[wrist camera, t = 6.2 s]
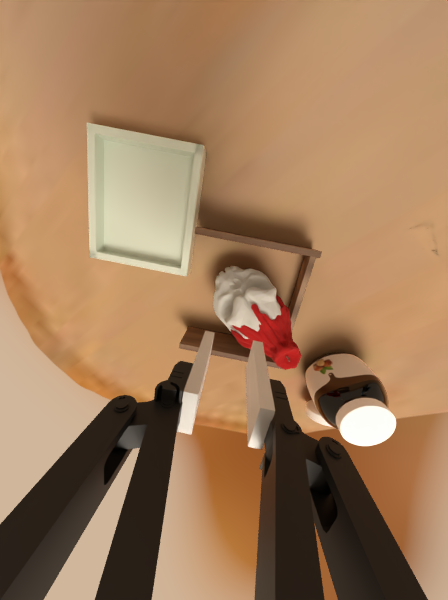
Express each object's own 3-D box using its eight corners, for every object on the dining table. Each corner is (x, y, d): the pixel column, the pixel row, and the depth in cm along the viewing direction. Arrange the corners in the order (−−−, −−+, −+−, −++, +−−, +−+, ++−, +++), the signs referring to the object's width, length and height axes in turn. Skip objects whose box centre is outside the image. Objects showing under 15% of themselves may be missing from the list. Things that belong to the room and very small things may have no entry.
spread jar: (352, 342, 36) (403, 392, 25) (369, 392, 39) (421, 456, 28) (285, 365, 38) (304, 420, 27) (306, 411, 41) (330, 477, 30)
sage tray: (99, 131, 29) (86, 122, 26) (206, 152, 29) (203, 145, 26) (100, 255, 34) (89, 257, 32) (190, 273, 34) (186, 276, 32)
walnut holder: (203, 227, 32) (195, 226, 26) (312, 249, 32) (328, 253, 26) (188, 330, 37) (179, 348, 32) (280, 349, 37) (288, 370, 31)
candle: (246, 249, 30) (324, 318, 21) (264, 292, 39) (325, 356, 29) (195, 285, 30) (250, 372, 21) (224, 320, 39) (272, 394, 29)
